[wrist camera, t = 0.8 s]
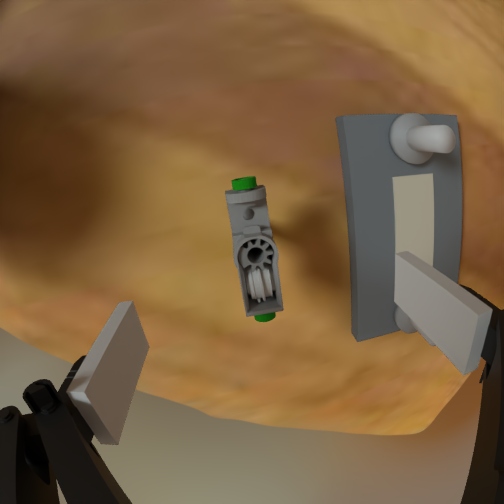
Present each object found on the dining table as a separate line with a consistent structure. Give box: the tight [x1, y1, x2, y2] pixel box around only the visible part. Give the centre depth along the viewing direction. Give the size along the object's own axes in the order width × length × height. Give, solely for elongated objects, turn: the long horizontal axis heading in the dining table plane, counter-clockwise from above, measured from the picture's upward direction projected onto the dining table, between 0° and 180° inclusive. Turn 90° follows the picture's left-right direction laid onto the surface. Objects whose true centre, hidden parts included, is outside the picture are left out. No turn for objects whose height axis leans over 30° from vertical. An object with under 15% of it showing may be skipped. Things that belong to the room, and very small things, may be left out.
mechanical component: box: [225, 176, 283, 322], centre depth 26 cm, size 3×10×10 cm, turn 9°
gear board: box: [336, 113, 462, 346], centre depth 28 cm, size 24×14×8 cm, turn 9°
